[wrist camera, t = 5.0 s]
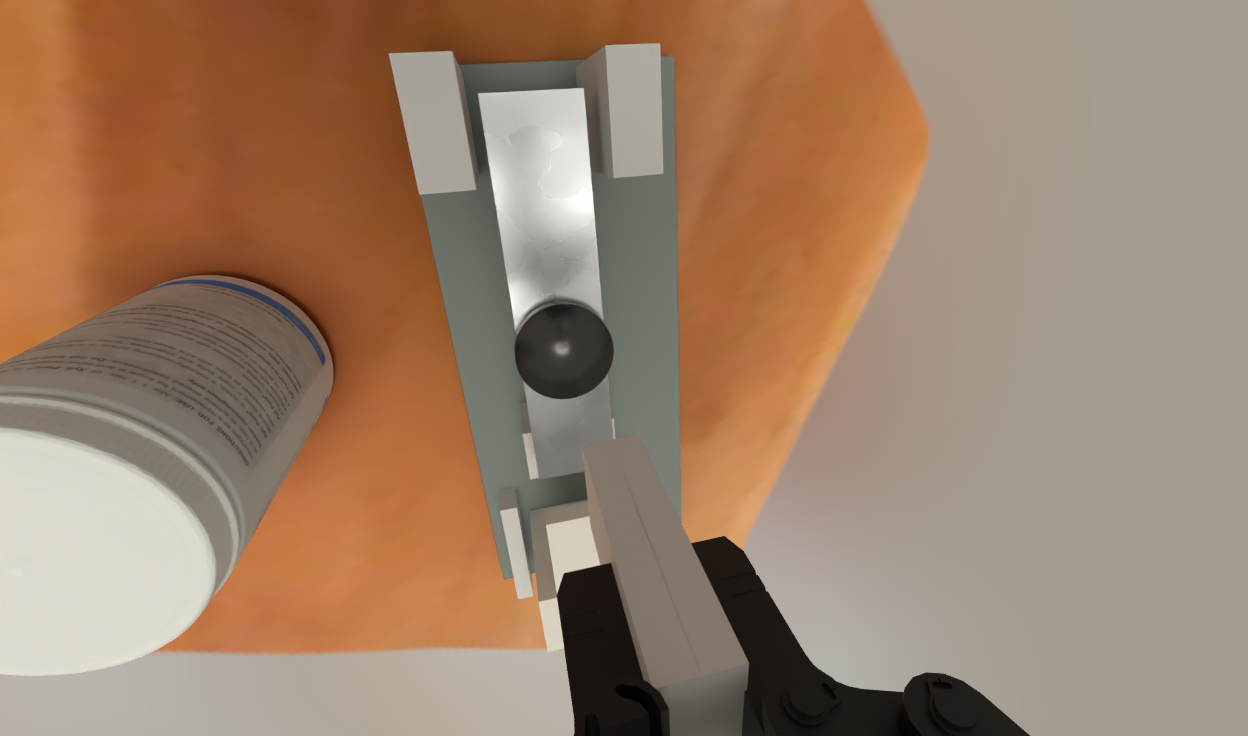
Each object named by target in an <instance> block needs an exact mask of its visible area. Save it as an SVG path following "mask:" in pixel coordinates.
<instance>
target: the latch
mask: <svg viewBox="0 0 1248 736" xmlns="http://www.w3.org/2000/svg"><path fill="white" fill-rule="evenodd" d="M529 514H530V524H531V533H532V543H533V552H534V562H535V571H536V581H537V590H538V600H539V606H540V612H541V617H542V623H543V628H544V634H545V639H546V645H547V650H548V652H552V651H555V650H560V649H564V643H563V636H562V629H561V622H560V615H559V608H558V601H557V593H558V590H559V587H560V583H561V580H562V577H563V574H564V573H567V572H571V571H576V570H580V569H585V568H589V567H594V566H598V565H600V562H599V558H598V554H597V550H596V546H595V542H594V538H593V534H592V530H591V525H590V516H589V507H588V499H585V500H580V501H575V502H570V503H565V504H560V505H555V506H550V507H545V508H540V509H535V510H530V511H529Z"/></svg>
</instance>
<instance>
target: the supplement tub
mask: <svg viewBox="0 0 1248 736" xmlns="http://www.w3.org/2000/svg"><path fill="white" fill-rule="evenodd" d="M332 385H333V363H332V358H331V354H330V351H329V349H328V346H327V344H326V342H325V340H324V338H323V337H322V335H321V333H320V332H319V330H318V329H317V327H316V326H315V324H314V323H313V322H312V321H311V319H310V318H309V317H308V316H307V315H306V314H305V313H304V312H303V311H302V310H301V309H300V308H298V307H297V306H296V305H295V304H293V303H292V302H291V301H289V300H288V299H286V298H285V297H283V296H282V295H280V294H278V293H276V292H274V291H272V290H270V289H268V288H266V287H264V286H261V285H259V284H256V283H253V282H249V281H246V280H243V279H238V278H233V277H228V276H218V275H198V276H189V277H183V278H178V279H174V280H171V281H168V282H165V283H162V284H159V285H157V286H155V287H153V288H151V289H149V290H147V291H145V292H143V293H141V294H139V295H137V296H135V297H133V298H131V299H129V300H127V301H125V302H123V303H121V304H119V305H117V306H115V307H113V308H111V309H109V310H107V311H105V312H103V313H101V314H99V315H97V316H95V317H93V318H91V319H89V320H87V321H85V322H83V323H81V324H79V325H77V326H75V327H73V328H71V329H69V330H67V331H65V332H62V333H60V334H58V335H56V336H54V337H52V338H50V339H48V340H46V341H44V342H42V343H40V344H38V345H37V346H35V347H33V348H31V349H29V350H27V351H25V352H23V353H21V354H19V355H17V356H15V357H13V358H11V359H9V360H7V361H5V362H3V363H1V364H0V674H5V675H22V676H44V675H61V674H73V673H80V672H88V671H93V670H98V669H103V668H107V667H111V666H115V665H119V664H123V663H126V662H128V661H131V660H134V659H137V658H139V657H142V656H144V655H147V654H149V653H151V652H153V651H155V650H157V649H159V648H161V647H162V646H164V645H166V644H167V643H169V642H171V641H172V640H174V639H175V638H177V637H178V636H179V635H180V634H182V633H183V632H184V631H185V630H187V629H188V628H189V627H190V626H191V625H192V624H193V623H194V622H195V621H196V619H197V618H198V617H199V616H200V615H201V614H202V612H203V610H204V609H205V607H206V606H207V604H208V603H209V601H210V600H211V598H212V597H213V596H214V595H215V594H216V593H217V592H218V591H219V590H220V588H221V587H222V586H223V585H224V583H225V582H226V580H227V579H228V577H229V576H230V574H231V572H232V570H233V568H234V567H235V565H236V564H237V562H238V560H239V558H240V556H241V555H242V553H243V551H244V549H245V548H246V546H247V544H248V543H249V541H250V539H251V538H252V536H253V534H254V532H255V531H256V529H257V527H258V525H259V523H260V522H261V520H262V518H263V516H264V514H265V513H266V511H267V509H268V507H269V505H270V504H271V502H272V500H273V498H274V497H275V495H276V493H277V491H278V489H279V488H280V486H281V484H282V482H283V480H284V479H285V477H286V475H287V473H288V472H289V470H290V468H291V466H292V464H293V463H294V461H295V459H296V457H297V455H298V454H299V452H300V450H301V448H302V447H303V445H304V443H305V441H306V439H307V438H308V436H309V434H310V432H311V430H312V429H313V427H314V425H315V423H316V421H317V420H318V418H319V416H320V414H321V412H322V411H323V409H324V407H325V405H326V403H327V401H328V398H329V396H330V393H331V390H332Z"/></svg>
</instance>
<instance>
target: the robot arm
mask: <svg viewBox="0 0 1248 736" xmlns="http://www.w3.org/2000/svg"><path fill="white" fill-rule="evenodd" d="M582 452H583V461H584V470H585V479H586V489H587V498H588V507H589V516H590V525H591V530H592V534H593V538H594V542H595V546H596V550H597V554H598V558H599V562H600V565H598V566H594V567H589V568H585V569H580V570H576V571H571V572H567V573H564V574H563V577H562V580H561V583H560V587H559V590H558V593H557V601H558V608H559V615H560V622H561V629H562V636H563V643H564V650H565V657H566V664H567V671H568V678H569V685H570V691H571V699H572V706H573V713H574V722H575V723H574V727H575V733H574V736H1030V735H1028V734H1027V733H1026V732H1025V731H1024V730H1023V729H1021V728H1020V727H1019V726H1018V725H1017V724H1015V722H1014V721H1012V720H1011V719H1010V718H1009V717H1008V716H1007V715H1005V714H1004V713H1003V712H1002V711H1001V710H1000V709H998V708H997V707H996V706H995V705H994V704H992V703H991V702H990V701H989V700H988V699H987V698H986V697H985V696H983V695H982V694H981V693H980V692H978V691H977V690H975V689H974V688H972V687H971V686H969V685H968V684H966V683H965V682H964V681H961V680H959V679H956V678H954V677H951V676H948V675H946V674H940V673H924V674H921V675H918V676H915V677H913V678H912V679H911V681H910V682H909V683H908V684H907V686H906V687H905V689H904V692H893V691H880V690H867V689H859V688H854V687H849V686H846V685H844V684H841V683H839V682H836V681H835V680H834V679H833V678H832V677H830V676H829V675H827V674H825V673H824V672H822V671H821V670H819V669H818V668H817V667H815V666H814V665H813V664H812V662H811V661H810V660H809V658H808V657H807V656H806V654H805V653H804V651H803V649H802V648H801V647H800V644H799V643H798V641H797V639H796V638H795V636H794V634H793V633H792V631H791V629H790V628H789V626H788V624H787V623H786V621H785V619H784V618H783V616H782V614H781V613H780V611H779V609H778V608H777V606H776V604H775V603H774V601H773V599H772V598H771V596H770V595H769V593H768V592H766V589H765V586H764V584H763V583H762V581H761V579H760V578H759V576H758V575H756V572H755V570H754V568H753V566H752V565H751V563H750V561H749V559H748V558H747V556H746V555H745V553H744V551H743V550H741V549H740V548H739V547H738V546H736V545H735V544H734V543H733V542H731V541H730V540H729V539H727V538H726V537H725V536H722V537H718V538H713V539H709V540H704V541H700V542H695V543H691V542H690V540H689V538H688V536H687V534H686V532H685V530H684V528H683V526H682V524H681V522H680V520H679V518H678V516H677V514H676V511H675V509H674V507H673V505H672V503H671V501H670V499H669V497H668V495H667V493H666V491H665V489H664V487H663V485H662V483H661V481H660V478H659V476H658V474H657V472H656V470H655V468H654V466H653V464H652V462H651V460H650V458H649V456H648V454H647V452H646V450H645V448H644V445H643V443H642V441H641V439H640V437H639V435H634V436H629V437H623V438H617V439H612V440H606V441H600V442H595V443H589V444H584V445H582Z"/></svg>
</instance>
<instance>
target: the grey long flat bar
mask: <svg viewBox="0 0 1248 736" xmlns="http://www.w3.org/2000/svg"><path fill="white" fill-rule="evenodd" d="M478 97H479V103H480V109H481V116H482V122H483V128H484V135H485V141H486V147H487V154H488V160H489V166H490V173H491V179H492V185H493V192H494V198H495V204H496V211H497V217H498V223H499V230H500V236H501V242H502V248H503V255H504V261H505V267H506V274H507V280H508V286H509V293H510V299H511V305H512V312H513V318H514V324H515V331H516V336H515V342H514V352H515V362H516V366H517V369H518V372H519V374H520V376H521V378H522V379H523V381H524V388H525V394H526V400H527V407H528V413H529V419H530V425H531V432H532V438H533V444H534V451H535V457H536V463H537V470H538V476H539V480H541V479H547V478H552V477H557V476H562V475H568V474H573V473H578V472H584V471H585V470H584V461H583V452H582V445H584V444H589V443H595V442H600V441H606V440H612V439H613V429H612V417H611V405H610V393H609V382H608V372H609V370H610V368H611V365H612V361H613V356H614V346H613V341H612V337H611V335H610V333H609V330H608V329H607V327H606V326H605V324H604V322H603V310H602V299H601V287H600V275H599V263H598V251H597V239H596V228H595V216H594V204H593V192H592V180H591V168H590V157H589V145H588V133H587V121H586V109H585V97H584V88H573V89H554V90H535V91H516V92H496V93H478Z"/></svg>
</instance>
